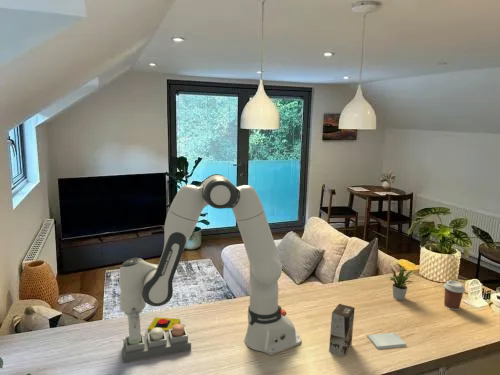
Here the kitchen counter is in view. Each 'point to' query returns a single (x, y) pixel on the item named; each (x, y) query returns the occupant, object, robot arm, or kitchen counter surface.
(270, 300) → the robot arm
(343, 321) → the coffee box
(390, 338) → the hard drive
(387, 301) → the kitchen counter surface
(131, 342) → the pale green egg
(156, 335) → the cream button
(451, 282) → the coffee cup
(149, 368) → the kitchen counter surface
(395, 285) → the house plant
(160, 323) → the emergency button
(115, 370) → the kitchen counter surface
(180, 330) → the brown egg
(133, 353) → the panel
